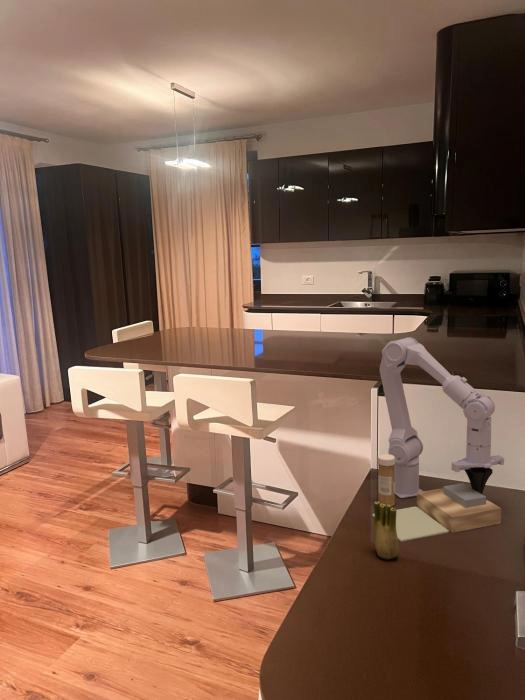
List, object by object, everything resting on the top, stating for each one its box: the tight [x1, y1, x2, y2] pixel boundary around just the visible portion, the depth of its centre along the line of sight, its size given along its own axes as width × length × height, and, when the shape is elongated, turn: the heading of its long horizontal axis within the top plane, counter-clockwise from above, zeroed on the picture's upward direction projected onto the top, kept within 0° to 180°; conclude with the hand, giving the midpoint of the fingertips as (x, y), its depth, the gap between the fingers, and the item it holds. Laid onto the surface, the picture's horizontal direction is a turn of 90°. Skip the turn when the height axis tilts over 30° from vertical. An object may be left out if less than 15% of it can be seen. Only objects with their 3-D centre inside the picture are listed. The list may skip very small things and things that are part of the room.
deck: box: [416, 487, 502, 534], centre depth 129 cm, size 15×14×4 cm
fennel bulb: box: [373, 501, 400, 560], centre depth 111 cm, size 6×5×12 cm
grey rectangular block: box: [442, 482, 487, 508], centre depth 129 cm, size 9×6×2 cm, turn 16°
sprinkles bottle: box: [377, 453, 396, 507], centre depth 136 cm, size 5×5×13 cm
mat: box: [371, 506, 450, 543], centre depth 126 cm, size 14×13×1 cm
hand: (477, 493), depth 131 cm, fingers closed
